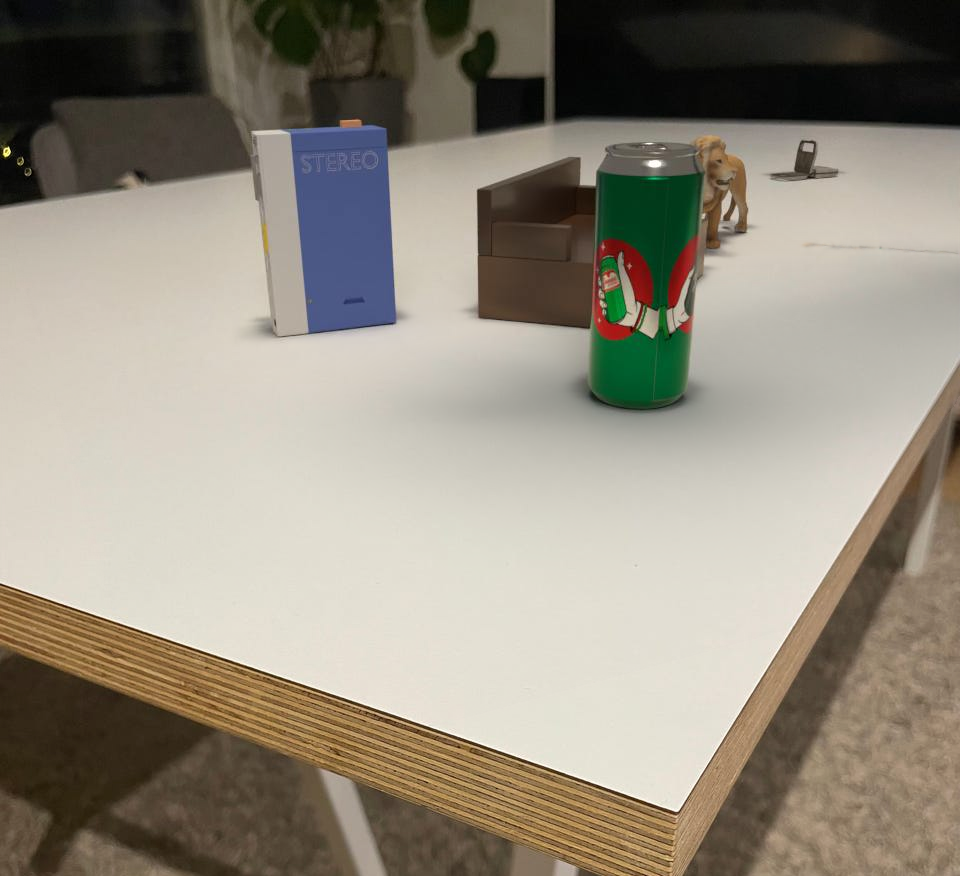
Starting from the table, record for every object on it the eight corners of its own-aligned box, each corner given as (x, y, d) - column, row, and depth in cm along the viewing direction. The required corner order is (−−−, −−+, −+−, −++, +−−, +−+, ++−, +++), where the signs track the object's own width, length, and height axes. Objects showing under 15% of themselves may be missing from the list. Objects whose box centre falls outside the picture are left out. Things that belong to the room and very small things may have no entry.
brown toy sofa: (703, 273, 79) (712, 161, 75) (641, 332, 64) (649, 197, 61) (565, 263, 83) (568, 156, 79) (478, 317, 68) (476, 189, 65)
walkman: (383, 313, 69) (372, 118, 64) (396, 323, 67) (386, 122, 62) (266, 326, 67) (244, 124, 61) (276, 337, 65) (254, 128, 59)
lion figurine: (726, 258, 84) (738, 138, 80) (661, 254, 86) (669, 136, 81) (752, 227, 96) (763, 122, 92) (694, 224, 98) (703, 120, 94)
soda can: (667, 378, 56) (685, 139, 51) (701, 408, 52) (724, 150, 46) (577, 384, 55) (584, 142, 50) (602, 415, 51) (614, 154, 45)
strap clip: (823, 173, 128) (827, 136, 126) (840, 176, 126) (845, 138, 124) (767, 178, 125) (771, 140, 123) (784, 181, 123) (788, 142, 121)
